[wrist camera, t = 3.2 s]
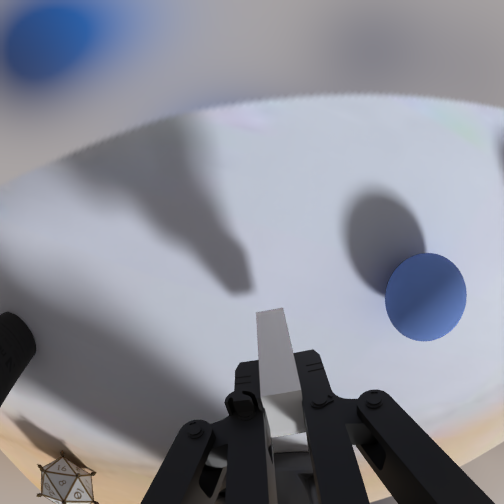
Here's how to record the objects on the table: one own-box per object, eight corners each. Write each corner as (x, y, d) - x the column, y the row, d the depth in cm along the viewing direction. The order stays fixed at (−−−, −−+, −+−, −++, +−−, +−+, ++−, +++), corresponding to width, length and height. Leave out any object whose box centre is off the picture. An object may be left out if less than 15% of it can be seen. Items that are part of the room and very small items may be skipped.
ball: (379, 327, 20) (411, 372, 15) (365, 259, 18) (404, 295, 13) (439, 298, 19) (480, 333, 14) (432, 232, 18) (482, 255, 13)
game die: (73, 443, 30) (18, 462, 21) (85, 444, 25) (17, 468, 17) (105, 494, 27) (52, 517, 19) (124, 504, 23) (61, 533, 15)
